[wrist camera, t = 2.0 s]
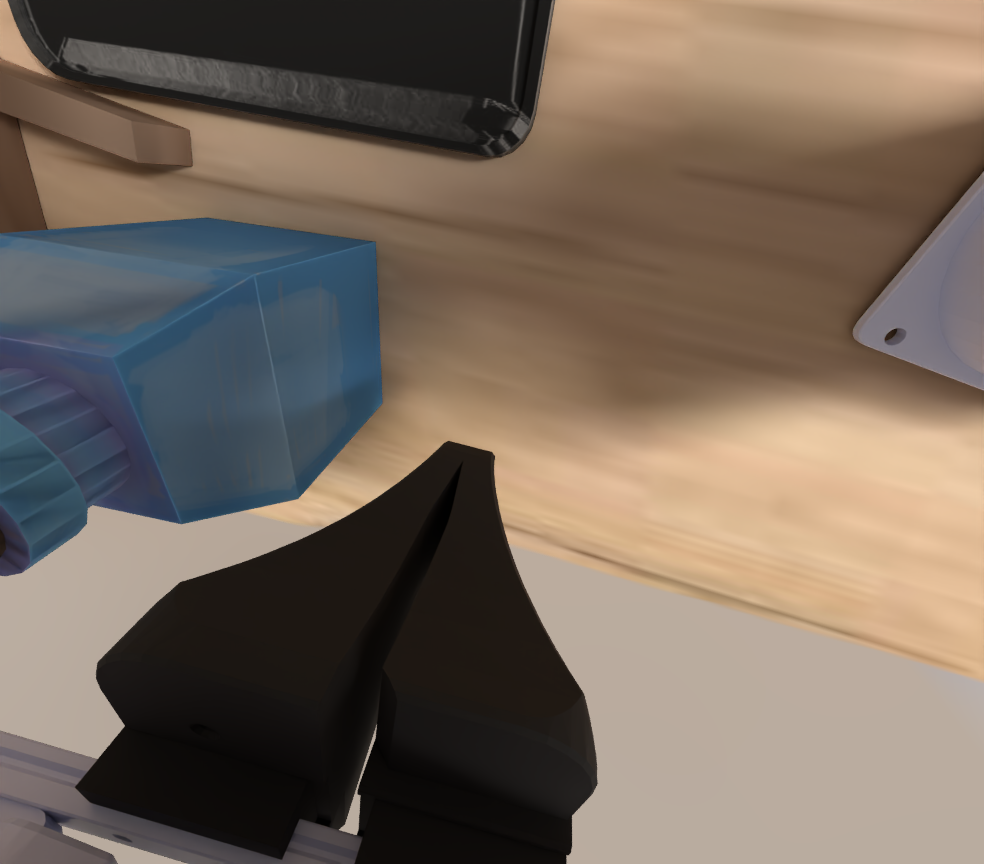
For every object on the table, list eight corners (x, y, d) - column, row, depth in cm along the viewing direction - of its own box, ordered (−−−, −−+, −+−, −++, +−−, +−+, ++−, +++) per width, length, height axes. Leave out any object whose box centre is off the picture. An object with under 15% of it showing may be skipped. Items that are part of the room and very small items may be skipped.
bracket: (189, 126, 13) (130, 116, 11) (211, 392, 18) (174, 414, 16) (-33, 42, 13) (-126, 20, 11) (56, 336, 18) (2, 352, 16)
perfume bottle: (382, 402, 17) (99, 724, 7) (245, 378, 17) (-210, 642, 7) (375, 241, 14) (-194, 393, 3) (207, 217, 14) (-716, 287, 4)
